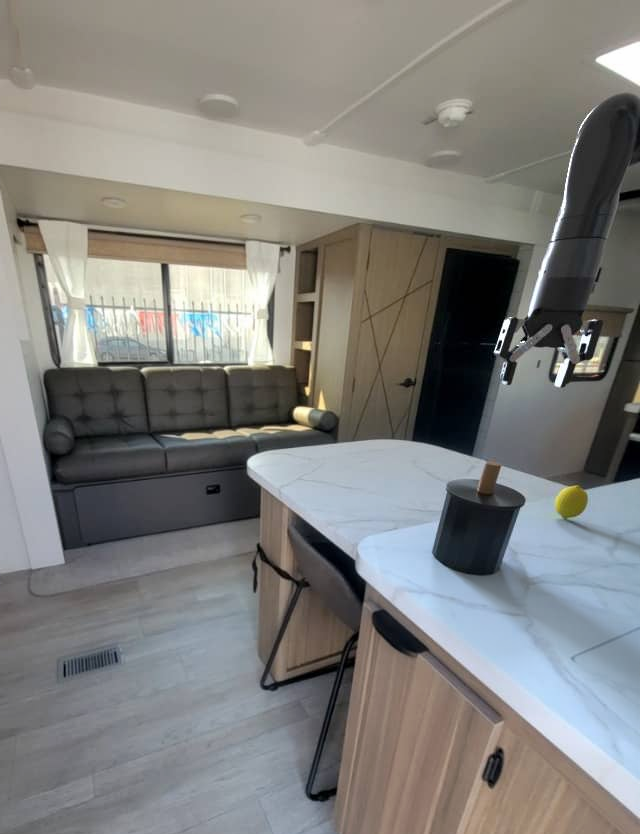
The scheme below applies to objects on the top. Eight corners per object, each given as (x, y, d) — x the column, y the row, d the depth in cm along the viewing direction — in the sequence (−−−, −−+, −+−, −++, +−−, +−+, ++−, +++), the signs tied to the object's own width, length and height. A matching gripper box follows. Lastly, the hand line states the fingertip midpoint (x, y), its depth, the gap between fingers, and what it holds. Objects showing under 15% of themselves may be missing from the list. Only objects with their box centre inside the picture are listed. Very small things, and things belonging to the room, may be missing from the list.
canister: (485, 548, 78) (505, 485, 72) (508, 581, 68) (534, 511, 62) (425, 542, 79) (441, 480, 73) (440, 574, 69) (458, 505, 64)
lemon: (546, 517, 91) (558, 484, 87) (554, 511, 94) (566, 479, 90) (575, 526, 87) (589, 492, 83) (582, 519, 90) (596, 486, 87)
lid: (506, 488, 72) (516, 454, 70) (537, 516, 62) (550, 478, 59) (437, 482, 74) (445, 449, 71) (456, 509, 63) (466, 472, 61)
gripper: (528, 273, 60) (497, 387, 67) (634, 275, 58) (590, 391, 65) (507, 278, 66) (480, 381, 73) (601, 279, 65) (565, 384, 72)
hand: (532, 385), depth 69 cm, fingers open, 8 cm apart
